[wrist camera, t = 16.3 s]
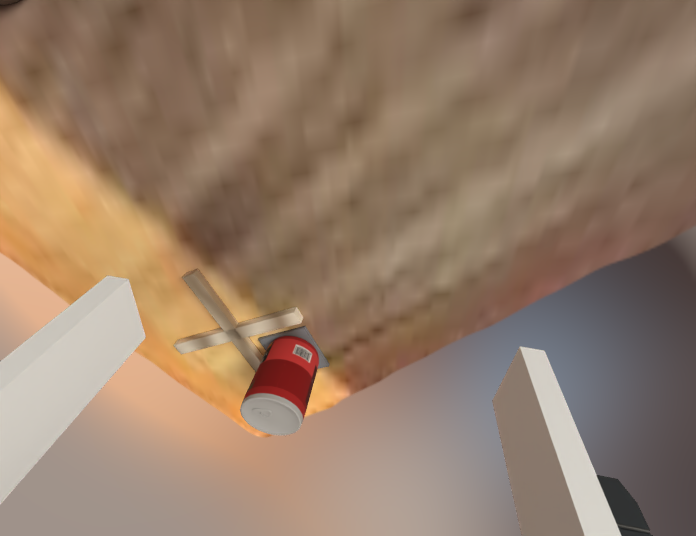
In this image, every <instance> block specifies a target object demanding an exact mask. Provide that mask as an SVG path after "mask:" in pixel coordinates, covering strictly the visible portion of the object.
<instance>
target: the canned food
mask: <svg viewBox="0 0 696 536" xmlns="http://www.w3.org/2000/svg"><path fill="white" fill-rule="evenodd" d="M318 365H319V356H318V352H317V350H316V349H315V348H314V346H313V345H311V344H310V343H309V342H307V341H306V340H304V339H302V338H298V337H294V336H282V337H279V338H277V339H275V340H274V341H273V342H272V343H271V344H270V345H269V346H268V348H267V350H266V352H265V354H264V356H263V358H262V361H261V363H260V365H259V367H258V369H257V371H256V373H255V376H254V378H253V380H252V382H251V384H250V386H249V389H248V391H247V393H246V395H245V398H244V400H243V402H242V405H241V409H240V411H241V415H242V417H243V418H244V420H245V421H246V422H247V423H248V424H249V425H251V426H252V427H254V428H256V429H257V430H259V431H262V432H265V433H268V434H272V435H289V434H292V433H295V432H296V431H298V430H299V428H300V426H301V424H302V422H303V419H304V415H305V412H306V409H307V405H308V401H309V398H310V394H311V390H312V387H313V383H314V380H315V376H316V372H317V369H318Z"/></svg>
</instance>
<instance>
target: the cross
mask: <svg viewBox="0 0 696 536" xmlns="http://www.w3.org/2000/svg"><path fill="white" fill-rule="evenodd" d="M182 278H183V279H184V281H185V282H186V283H187V284H188V286H189V287H190V288H191V290H192V291H193V292H194V293H195V295H196V296H197V297H198V299H199V300H200V301H201V302H202V304H203V305H204V306H205V308H206V309H207V310H208V311H209V313H210V314H211V315H212V317H213V318H214V319H215V320H216V322H217V323H218V324H219V326H220V327H221V328H219V329H215V330H211V331H208V332H204V333H201V334H197V335H193V336H190V337H186V338H183V339H179V340H177V341H176V343H175V344H174V347H175V348H176V349H177V350H178V351H179V352H180V353H181V354H184V353H188V352H192V351H196V350H200V349H204V348H207V347H211V346H215V345H219V344H223V343H227V342H231V341H232V342H233V343H234V345H235V346H236V347H237V349H238V350H239V351H240V352H241V354H242V355H243V356H244V358H245V359H246V360H247V361H248V363H249V364H250V365H251V367H252V368H253V369H254V370H255V372H256V371H257V369H258V367H259V365H260V363H261V361H262V358H263V355H262V354H261V353H260V351H259V350H258V349H257V347H256V346H255V345H254V343H253V342H252V341H251V339H250V338H249V337H250V336H254V335H257V334H261V333H265V332H269V331H273V330H277V329H281V328H284V327H288V326H292V325H296V324H300V323H301V322H302V320H303V316H302V315H301V313H300V311H299V310H298V308H297V307H294V308H290V309H287V310H283V311H279V312H276V313H272V314H269V315H265V316H262V317H258V318H254V319H251V320H247V321H244V322H240V323H238V322H237V320H236V319H235V318H234V316H233V315H232V314H231V312H230V311H229V310H228V308H227V307H226V306H225V304H224V303H223V302H222V300H221V299H220V298H219V296H218V295H217V294H216V292H215V291H214V290H213V288H212V287H211V286H210V284H209V283H208V281H207V280H206V279H205V277H204V276H203V275H202V273H201V272H200V271H199V269H196V270H193V271H190V272H187V273H186V274H185V275H184V276H183V277H182ZM282 336H294V337H298V338H302V339H304V340H306V341H307V342H309V343H310V344H311V345H313V346H314V348H315V349H316V350H317V352H318V356H319V365H318V368H323V367H328V366H329V363H328V361H327V360H326V358H325V356H324V355H323V353H322V352H321V350H320V349H319V347H318V345H317V344H316V342H315V341H314V339H313V338H312V336H311V334H310V333H309V331H308V330H307V328H306V327H305V326H303V327H299V328H295V329H292V330H288V331H284V332H280V333H276V334H272V335H268V336H264V337H260V338H259V339H258V340H259V341H260V343H261V344H262V346H263V347H264V348H265V350H267V348H268V346H269V345H270V344H271V343H272V342H273V341H274V340H275V339H277V338H279V337H282Z"/></svg>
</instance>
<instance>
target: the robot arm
mask: <svg viewBox="0 0 696 536" xmlns="http://www.w3.org/2000/svg"><path fill="white" fill-rule="evenodd" d="M18 1H20V0H0V5H6V4H12V3H15V2H18ZM145 338H146V336H145V333H144V330H143V326H142V323H141V319H140V316H139V313H138V309H137V306H136V302H135V299H134V296H133V292H132V289H131V286H130V282H129V279H125V278H119V277H113V276H106V277H105V278H104V279H103V280H101V281H100V282H99V283H98V284H96V285H95V286H94V287H93V288H91V289H90V290H89V291H88V292H86V293H85V294H84V295H83V296H81V297H80V298H79V299H78V300H76V301H75V302H74V303H73V304H71V305H70V306H69V307H68V308H66V309H65V310H64V311H63V312H61V313H60V314H59V315H58V316H57V317H56V318H54V319H53V320H51V321H50V322H49V323H48V324H47V325H45V326H44V327H43V328H42V329H40V330H39V331H38V332H36V333H35V334H34V335H33V336H31V337H30V338H29V339H28V340H26V341H25V342H24V343H23V344H21V345H20V346H19V347H18V348H16V349H15V350H14V351H13V352H12V353H10V354H9V355H8V356H6V357H5V358H4V359H3V360H1V361H0V504H1V503H2V502H3V501H4V500H5V499H6V497H7V496H8V495H9V494H10V493H11V492H12V490H13V489H14V488H15V487H16V486H17V485H18V484H19V482H20V481H21V480H22V479H23V478H24V477H25V476H26V474H27V473H28V472H29V471H30V470H31V469H32V467H33V466H34V465H35V464H36V463H37V462H38V461H39V459H40V458H41V457H42V456H43V455H44V454H45V453H46V451H47V450H48V449H49V448H50V447H51V446H52V445H53V443H54V442H55V441H56V440H57V439H58V437H60V435H61V434H62V433H63V432H64V431H65V430H66V428H67V427H68V426H69V425H70V424H71V422H72V421H73V420H74V419H75V418H76V417H77V416H78V415H79V414H80V412H81V411H82V410H83V409H84V408H85V406H86V405H87V404H88V403H89V402H90V401H91V399H92V398H93V397H94V396H95V395H96V394H97V393H98V392H99V391H100V389H101V388H102V387H103V386H104V385H105V384H106V383H107V381H108V380H109V379H110V378H111V377H112V376H113V375H114V373H115V372H116V371H117V370H118V369H119V368H120V366H121V365H122V364H123V363H124V362H125V361H126V360H127V358H128V357H129V356H130V355H131V354H132V353H133V352H134V350H135V349H136V348H137V347H138V346H139V345H140V343H141V342H142V341H143V340H144V339H145ZM492 401H493V406H494V411H495V416H496V420H497V425H498V429H499V434H500V439H501V443H502V448H503V452H504V457H505V462H506V466H507V470H508V475H509V480H510V485H511V489H512V493H513V498H514V503H515V507H516V512H517V517H518V521H519V526H520V530H521V535H522V536H653V535H650V532H649V531H650V529H649V527H648V525H647V523H646V521H645V519H644V517H643V514H642V512H641V510H640V508H639V506H638V504H637V502H636V501H635V500H634V499H633V498H632V496H631V495H630V494H629V493H628V491H627V490H626V489H625V487H624V486H623V485H622V484H621V483H620V481H619V480H618V479H615V478H610V477H604V476H599V475H596V473H595V471H594V469H593V466H592V464H591V461H590V459H589V456H588V454H587V452H586V449H585V447H584V445H583V442H582V440H581V437H580V435H579V432H578V430H577V428H576V425H575V423H574V420H573V418H572V416H571V413H570V411H569V409H568V406H567V404H566V401H565V399H564V396H563V394H562V392H561V389H560V387H559V385H558V382H557V380H556V377H555V375H554V372H553V370H552V368H551V365H550V363H549V360H548V358H547V356H546V353H545V351H543V350H537V349H531V348H525V347H519V349H518V351H517V353H516V355H515V357H514V359H513V361H512V363H511V365H510V367H509V369H508V371H507V373H506V375H505V377H504V379H503V381H502V383H501V385H500V387H499V389H498V391H497V393H496V395H495V397H494V399H493V400H492Z"/></svg>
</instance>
